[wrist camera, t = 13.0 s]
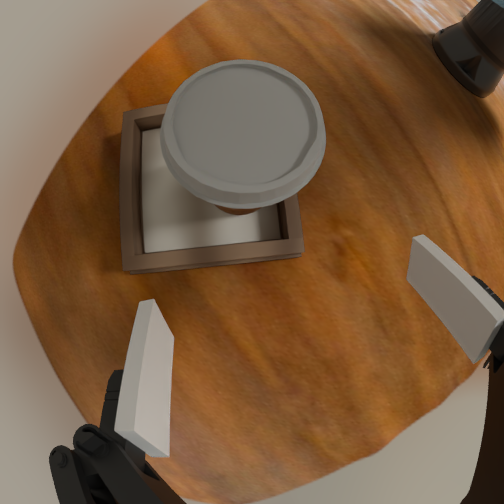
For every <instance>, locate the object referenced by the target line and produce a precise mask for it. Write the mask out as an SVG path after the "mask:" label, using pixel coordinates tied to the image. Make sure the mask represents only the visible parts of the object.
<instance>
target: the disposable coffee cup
mask: <svg viewBox="0 0 504 504" xmlns="http://www.w3.org/2000/svg"><path fill="white" fill-rule="evenodd" d="M160 146H161V150H162V155H163V158H164V160H165V162H166V165H167V167H168V169H169V171H170V172H171V173H172V175H173V176H174V178H175V179H176V180H177V181H178V182H179V183H180V184H181V185H182V186H183V187H184V188H186V189H187V190H188V191H190V192H191V193H192V194H193V195H195V196H196V197H198V198H201V199H203V200H205V201H207V202H209V203H212V204H214V205H215V206H216V207H217V208H219V209H220V210H222V211H224V212H226V213H229V214H233V215H247V214H250V213H253V212H255V211H257V210H259V209H260V208H262V207H264V206H270V205H273V204H275V203H278V202H280V201H283V200H285V199H287V198H289V197H291V196H292V195H294V194H296V193H297V192H298V191H299V190H300V189H301V188H303V187H304V186H305V185H306V184H307V183H308V182H309V181H310V180H311V178H312V177H313V176H314V175H315V173H316V171H317V170H318V168H319V166H320V164H321V162H322V159H323V156H324V152H325V146H326V132H325V126H324V120H323V115H322V112H321V109H320V106H319V103H318V101H317V100H316V98H315V96H314V95H313V93H312V92H311V91H310V89H309V88H308V87H307V86H306V85H305V83H303V82H302V81H301V80H299V79H298V78H297V77H296V76H294V75H293V74H292V73H290V72H288V71H286V70H285V69H283V68H281V67H278V66H275V65H273V64H270V63H266V62H262V61H257V60H241V59H239V60H231V61H224V62H219V63H216V64H214V65H211V66H209V67H206V68H203V69H201V70H199V71H198V72H196V73H195V74H194V75H192V76H191V77H189V78H188V79H187V80H185V81H184V82H183V83H182V84H181V85H180V87H179V88H178V89H177V90H176V91H175V93H174V94H173V96H172V98H171V99H170V101H169V103H168V105H167V109H166V112H165V115H164V117H163V120H162V125H161V130H160Z"/></svg>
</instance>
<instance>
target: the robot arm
mask: <svg viewBox="0 0 504 504" xmlns="http://www.w3.org/2000/svg"><path fill="white" fill-rule="evenodd" d="M432 43H433V46H434V49H435V51H436V53H437V55H438V56H439V58H440V59H441V61H442V62H443V64H444V65H445V66H446V68H447V69H448V70H449V71H450V72H451V74H452V75H453V76H454V77H455V78H456V79H457V80H458V81H459V82H460V83H461V84H462V85H463V86H464V87H466V88H467V89H468V90H469V91H471V92H472V93H474V94H475V95H477V96H479V97H487V96H488V95H490V94H491V93H492V92H493V91H494V90H495V88H496V86H497V85H498V83H499V81H500V79H501V78H502V76H503V74H504V0H481V1H480V2H479V3H478V4H477V5H476V6H475V7H474V8H473V9H472V10H471V11H470V12H469V13H468V14H467V15H466V16H465V17H464V18H463V20H462V21H460V22H459V23H456V24H454V25H451V26H449V27H447V28H445V29H442V30H440V31H438V32H437V33H436V35H435V36H434V37H433V39H432ZM406 280H407V281H408V282H409V283H410V284H411V285H412V286H413V288H414V289H415V290H416V291H417V292H418V293H419V294H420V296H421V297H422V298H423V299H424V300H425V302H426V303H427V304H428V305H429V306H430V308H431V309H432V310H433V311H434V313H435V314H436V315H437V316H438V318H439V319H440V320H441V321H442V323H443V324H444V325H445V326H446V328H447V329H448V330H449V332H450V333H451V334H452V335H453V337H454V338H455V339H456V341H457V342H458V343H459V345H460V346H461V348H462V349H463V350H464V352H465V353H466V354H467V356H468V357H469V359H470V360H471V361H472V363H473V364H474V363H475V362H477V361H478V360H480V359H481V358H483V357H484V356H485V354H486V352H487V351H488V349H490V350H491V354H490V355H489V357H488V359H487V360H486V362H485V363H484V366H483V368H485V367H486V366H487V364H488V363H489V366H488V369H489V385H488V386H489V387H488V400H487V409H486V417H485V424H484V431H483V437H482V442H481V447H480V452H479V457H478V461H477V466H476V469H475V473H474V477H473V480H472V484H471V487H470V490H469V492H468V494H467V496H466V497H465V498H464V499H463V500H462V502H461V503H460V504H504V302H503V301H502V300H501V299H500V298H499V297H498V296H497V295H496V294H494V292H493V291H492V290H491V289H490V288H488V286H487V285H486V284H485V283H484V282H483V281H482V280H480V279H478V278H477V277H475V276H470V275H469V274H468V273H467V272H466V271H465V270H464V269H463V268H461V267H460V266H459V265H458V264H457V263H456V262H455V261H454V260H453V259H452V258H450V257H449V256H448V255H447V254H446V253H445V252H444V251H443V250H441V249H440V248H439V247H438V246H437V245H436V244H434V243H433V242H432V241H431V240H430V239H428V238H427V237H426V236H425V235H424V234H423V235H419V236H416V237H413V239H412V247H411V254H410V261H409V267H408V273H407V278H406ZM173 347H174V336H173V335H172V333H171V331H170V329H169V327H168V325H167V323H166V321H165V320H164V318H163V316H162V314H161V312H160V310H159V308H158V306H157V304H156V302H155V300H154V299H150V300H145V301H140V302H139V306H138V310H137V314H136V318H135V322H134V326H133V330H132V334H131V339H130V343H129V348H128V352H127V357H126V362H125V367H124V370H114V372H113V374H112V375H111V377H110V378H109V380H108V384H107V389H106V392H107V393H106V394H105V402H104V405H103V410H102V416H101V422H100V428H98V427H97V426H95V425H92V424H85V425H83V426H81V427H80V428H79V429H78V430H77V431H76V432H75V435H74V437H73V445H74V448H75V449H74V450H70V449H69V448H67V447H65V446H62V445H60V446H57V447H55V448H54V449H53V450H52V451H51V453H50V457H49V463H50V469H51V473H52V477H53V481H54V485H55V489H56V493H57V496H58V499H59V502H60V504H186V503H185V502H184V501H183V500H182V499H181V498H180V497H179V496H178V495H177V494H176V493H175V492H174V491H173V490H172V489H171V488H170V486H169V485H168V484H167V483H166V482H165V481H164V480H163V479H162V478H161V477H160V476H159V475H158V473H157V472H156V471H155V470H154V469H153V468H152V467H151V465H150V464H149V463H148V462H147V461H146V460H145V453H146V454H148V455H150V456H151V457H169V440H170V398H171V377H172V361H173Z"/></svg>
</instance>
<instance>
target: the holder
mask: <svg viewBox="0 0 504 504" xmlns="http://www.w3.org/2000/svg"><path fill="white" fill-rule="evenodd" d="M167 105H168V103H167V104H161V105H155V106H150V107H145V108H140V109H135V110H131V111H126V112H124V113H123V123H122V135H121V152H120V182H119V206H120V236H121V253H122V266H123V271H130V274H142V273H152V272H162V271H172V270H182V269H192V268H202V267H212V266H221V265H231V264H240V263H250V262H259V261H268V260H277V259H286V258H295V257H301V253H303V252H305V249H304V241H303V233H302V225H301V217H300V210H299V203H298V196H297V193H296V194H294V195H292V196H291V197H289V198H287V199H285V200H283V201H280V202H278V203H275V204H273V205H270V206H264V207H262V208H260V209H259V210H257V211H255V212H253V213H250V214H247V215H233V214H229V213H226V212H224V211H222V210H220V209H219V208H217V207H216V206H215V205H214V204H212V203H209V202H207V201H205V200H203V199H201V198H198V197H196V196H195V195H193V194H192V193H191V192H190V191H188V190H187V189H186V188H184V187H183V186H182V185H181V184H180V183H179V182H178V181H177V180H176V179H175V178H174V176H173V175H172V173H171V172H170V171H169V169H168V167H167V165H166V162H165V160H164V158H163V155H162V150H161V146H160V130H161V125H162V120H163V117H164V115H165V112H166V109H167Z"/></svg>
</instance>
